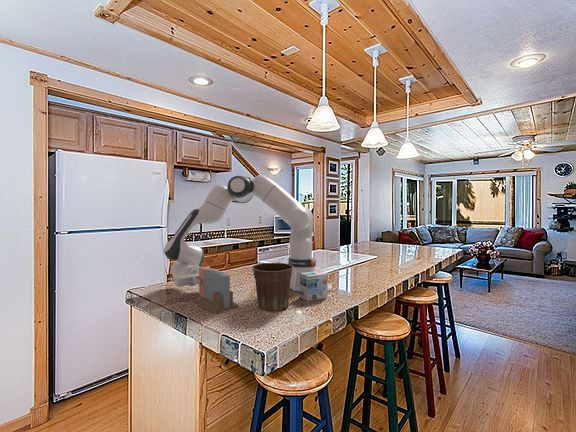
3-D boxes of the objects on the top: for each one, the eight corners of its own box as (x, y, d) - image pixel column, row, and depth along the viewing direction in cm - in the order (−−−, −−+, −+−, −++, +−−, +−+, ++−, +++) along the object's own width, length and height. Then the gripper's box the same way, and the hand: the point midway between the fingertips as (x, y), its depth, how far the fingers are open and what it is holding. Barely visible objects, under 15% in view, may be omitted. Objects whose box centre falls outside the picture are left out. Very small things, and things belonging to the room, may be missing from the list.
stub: (199, 295, 140) (198, 267, 139) (204, 294, 141) (204, 266, 141) (204, 297, 136) (204, 269, 135) (209, 296, 137) (209, 268, 137)
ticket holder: (196, 303, 133) (196, 270, 133) (218, 298, 140) (218, 267, 139) (215, 313, 121) (214, 277, 120) (238, 308, 128) (238, 273, 127)
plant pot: (259, 316, 119) (259, 272, 118) (247, 303, 134) (247, 264, 133) (299, 310, 125) (300, 268, 125) (283, 298, 140) (283, 261, 139)
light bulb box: (307, 301, 137) (307, 276, 136) (299, 297, 143) (299, 272, 142) (328, 298, 142) (328, 273, 141) (319, 294, 147) (319, 270, 147)
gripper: (168, 271, 141) (181, 277, 131) (211, 265, 154) (226, 270, 144) (168, 286, 141) (181, 293, 131) (211, 278, 155) (226, 284, 144)
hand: (205, 281), depth 138 cm, fingers closed on stub, 2 cm apart
